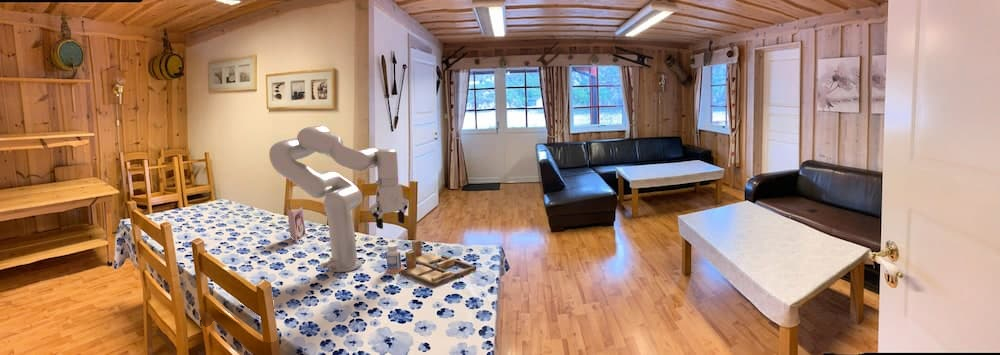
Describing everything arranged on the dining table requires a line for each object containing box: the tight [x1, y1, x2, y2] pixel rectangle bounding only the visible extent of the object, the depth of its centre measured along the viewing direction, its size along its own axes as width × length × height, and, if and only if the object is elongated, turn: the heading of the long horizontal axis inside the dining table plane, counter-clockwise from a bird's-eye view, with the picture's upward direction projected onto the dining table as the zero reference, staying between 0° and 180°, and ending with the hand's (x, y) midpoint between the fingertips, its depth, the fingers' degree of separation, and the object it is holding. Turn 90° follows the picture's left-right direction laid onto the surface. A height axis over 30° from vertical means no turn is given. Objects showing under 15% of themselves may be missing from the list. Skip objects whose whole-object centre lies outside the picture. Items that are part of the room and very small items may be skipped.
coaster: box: [386, 265, 406, 274], centre depth 193 cm, size 7×7×1 cm
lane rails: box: [400, 255, 477, 288], centre depth 189 cm, size 21×20×2 cm
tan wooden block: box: [404, 249, 433, 276], centre depth 190 cm, size 8×9×7 cm
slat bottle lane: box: [411, 239, 456, 270], centre depth 200 cm, size 8×20×7 cm, turn 46°
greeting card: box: [286, 206, 306, 243], centre depth 235 cm, size 11×7×15 cm, turn 1°
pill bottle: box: [385, 243, 402, 271], centre depth 192 cm, size 6×5×10 cm
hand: (390, 225), depth 189 cm, fingers open, 9 cm apart
